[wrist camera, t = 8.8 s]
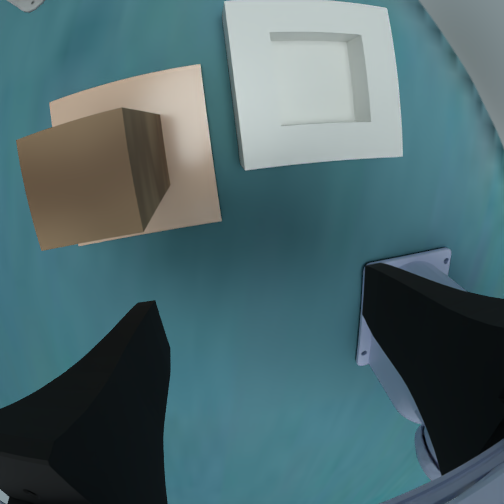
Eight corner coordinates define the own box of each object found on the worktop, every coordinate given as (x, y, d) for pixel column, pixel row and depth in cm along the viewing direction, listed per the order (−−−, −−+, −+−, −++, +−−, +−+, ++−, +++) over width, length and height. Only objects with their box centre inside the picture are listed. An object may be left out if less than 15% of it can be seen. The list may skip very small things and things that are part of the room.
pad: (221, 218, 19) (221, 221, 18) (82, 242, 18) (78, 246, 18) (200, 65, 15) (200, 64, 15) (53, 102, 15) (49, 102, 14)
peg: (170, 185, 17) (143, 232, 10) (104, 197, 17) (41, 250, 10) (160, 114, 16) (121, 107, 8) (91, 130, 15) (16, 140, 8)
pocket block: (381, 151, 19) (402, 156, 16) (240, 164, 18) (245, 170, 16) (367, 18, 15) (386, 8, 13) (222, 16, 14) (224, 1, 12)
